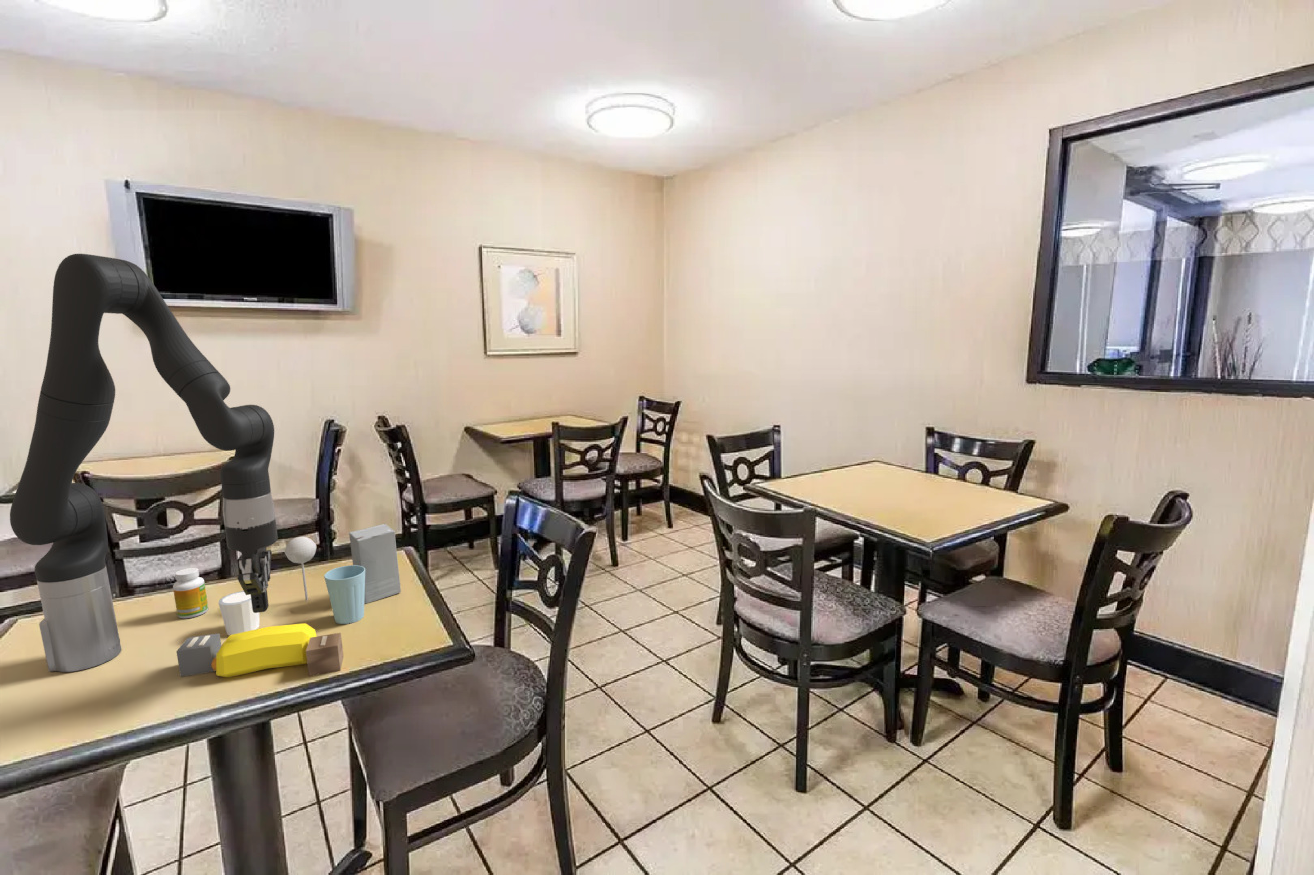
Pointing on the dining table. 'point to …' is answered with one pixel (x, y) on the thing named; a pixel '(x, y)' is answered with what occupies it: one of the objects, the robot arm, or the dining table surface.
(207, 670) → the charcoal numbered block
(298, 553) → the lollipop
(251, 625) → the shot glass
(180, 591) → the supplement bottle
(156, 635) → the dining table surface
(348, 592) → the cup
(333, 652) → the walnut numbered block
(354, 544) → the skincare box
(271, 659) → the yellow banana
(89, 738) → the dining table surface
